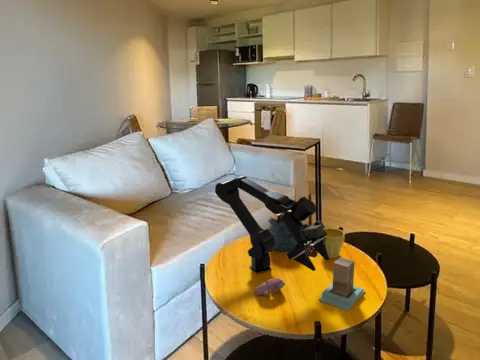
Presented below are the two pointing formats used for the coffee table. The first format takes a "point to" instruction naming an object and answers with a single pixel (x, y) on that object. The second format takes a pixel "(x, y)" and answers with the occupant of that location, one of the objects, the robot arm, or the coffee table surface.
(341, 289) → the block
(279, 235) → the canister
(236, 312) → the coffee table surface
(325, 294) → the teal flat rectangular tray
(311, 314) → the coffee table surface
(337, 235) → the plant pot
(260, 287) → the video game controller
